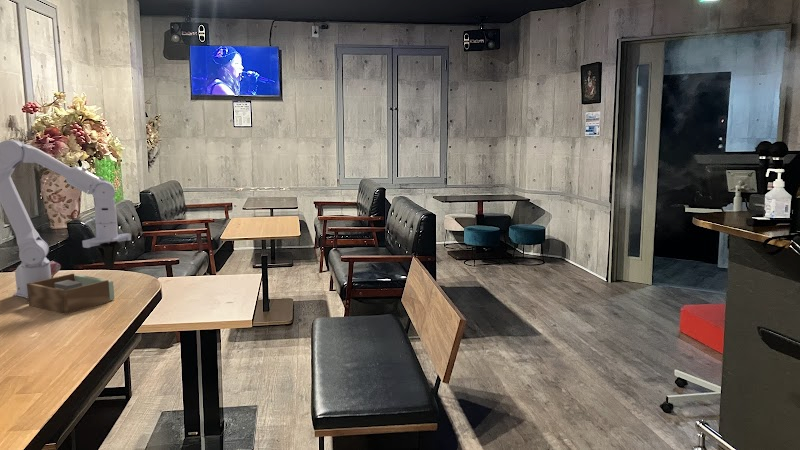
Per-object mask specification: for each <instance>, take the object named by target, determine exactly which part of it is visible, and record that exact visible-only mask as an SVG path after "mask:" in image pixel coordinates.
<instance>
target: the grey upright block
mask: <svg viewBox="0 0 800 450" xmlns="http://www.w3.org/2000/svg"><path fill="white" fill-rule="evenodd" d="M80 286H82V283H81V282H76V281H71V280H65V281H61V282H57V283H54V288H56V289H61V290H68V289H72V288H76V287H80Z"/></svg>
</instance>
